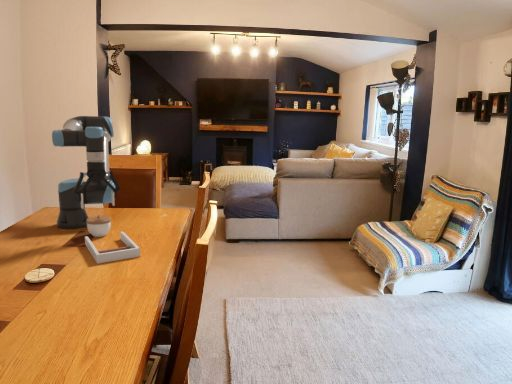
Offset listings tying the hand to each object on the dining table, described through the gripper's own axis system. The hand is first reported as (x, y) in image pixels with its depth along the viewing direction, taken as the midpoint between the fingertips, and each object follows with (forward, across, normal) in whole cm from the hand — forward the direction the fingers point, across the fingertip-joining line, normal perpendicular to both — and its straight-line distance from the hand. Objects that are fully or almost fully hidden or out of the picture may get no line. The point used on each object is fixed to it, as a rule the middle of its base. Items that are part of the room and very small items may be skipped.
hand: (98, 206), depth 182 cm
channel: (+14, 0, -23) cm, 27 cm away
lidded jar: (+14, 0, +1) cm, 14 cm away
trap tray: (+14, 0, -31) cm, 34 cm away
